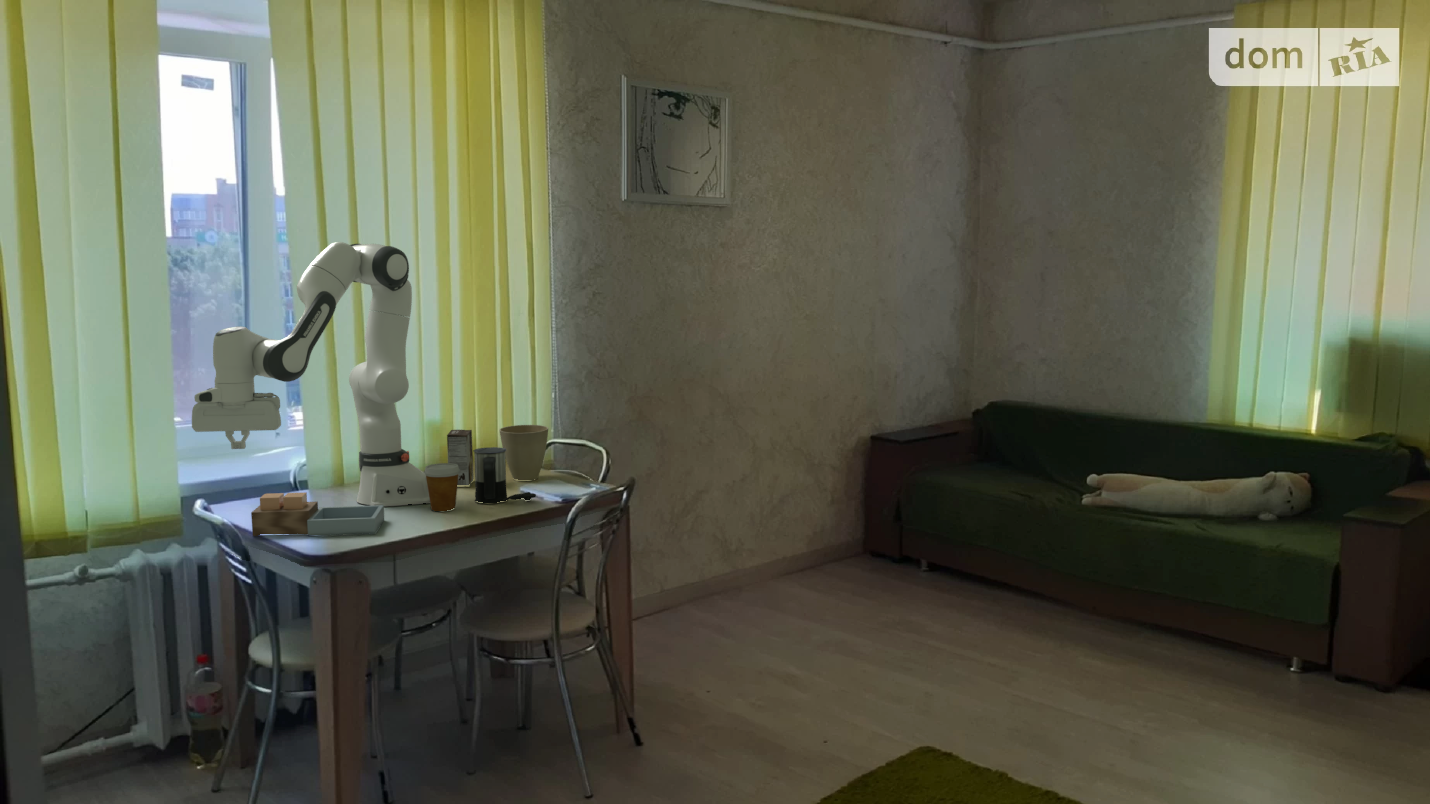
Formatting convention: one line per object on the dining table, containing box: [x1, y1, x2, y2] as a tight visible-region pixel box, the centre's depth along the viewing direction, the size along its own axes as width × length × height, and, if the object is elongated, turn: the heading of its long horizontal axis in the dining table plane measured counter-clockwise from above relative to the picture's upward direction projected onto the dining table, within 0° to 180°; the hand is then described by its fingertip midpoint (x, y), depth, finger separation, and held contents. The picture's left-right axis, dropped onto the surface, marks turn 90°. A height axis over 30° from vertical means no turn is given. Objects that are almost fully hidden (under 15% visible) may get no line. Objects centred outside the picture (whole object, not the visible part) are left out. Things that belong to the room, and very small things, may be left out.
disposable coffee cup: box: [423, 462, 460, 512], centre depth 288 cm, size 10×10×12 cm
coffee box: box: [446, 429, 475, 485], centre depth 319 cm, size 9×6×16 cm
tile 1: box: [259, 492, 285, 510], centre depth 265 cm, size 4×5×3 cm
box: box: [307, 505, 385, 536], centre depth 269 cm, size 16×14×4 cm
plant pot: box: [499, 424, 549, 481], centre depth 327 cm, size 15×15×16 cm
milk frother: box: [472, 446, 537, 503], centre depth 297 cm, size 14×16×15 cm
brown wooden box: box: [250, 500, 319, 537], centre depth 267 cm, size 14×10×6 cm
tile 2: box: [283, 492, 308, 509], centre depth 266 cm, size 4×5×3 cm
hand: (238, 448), depth 263 cm, fingers closed
